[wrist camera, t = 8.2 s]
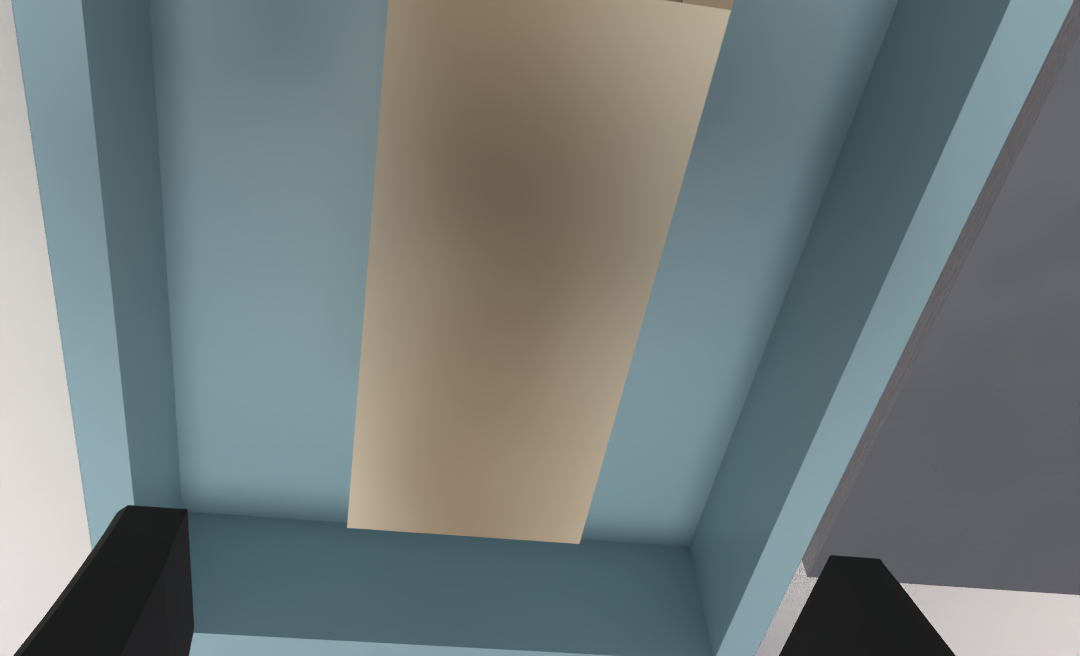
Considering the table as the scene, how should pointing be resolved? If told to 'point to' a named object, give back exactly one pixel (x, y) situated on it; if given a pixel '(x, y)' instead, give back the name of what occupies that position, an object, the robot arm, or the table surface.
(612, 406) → the strut
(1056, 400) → the stud plate
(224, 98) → the bin
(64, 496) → the table surface
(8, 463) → the table surface
